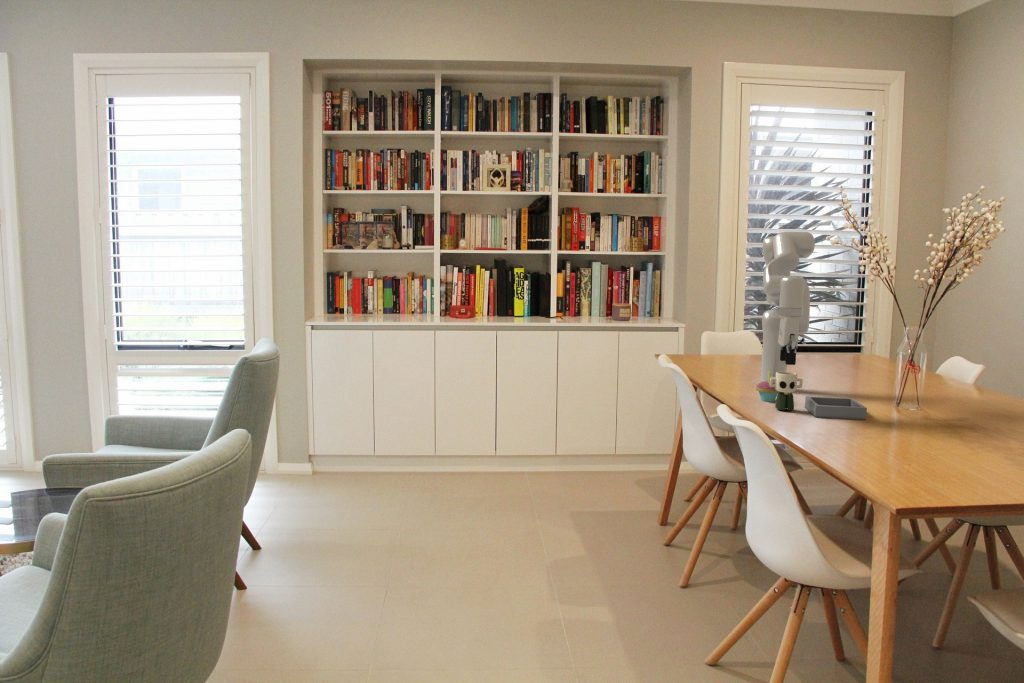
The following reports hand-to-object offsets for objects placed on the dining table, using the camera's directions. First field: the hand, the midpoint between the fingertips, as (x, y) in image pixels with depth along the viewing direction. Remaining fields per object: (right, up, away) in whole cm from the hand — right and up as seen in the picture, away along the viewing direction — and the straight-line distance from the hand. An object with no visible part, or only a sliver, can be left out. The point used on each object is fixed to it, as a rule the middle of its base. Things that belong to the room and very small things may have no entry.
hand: (787, 362), depth 268 cm
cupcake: (-1, -15, +19) cm, 24 cm away
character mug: (0, -17, +3) cm, 17 cm away
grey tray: (+15, -17, -2) cm, 23 cm away
